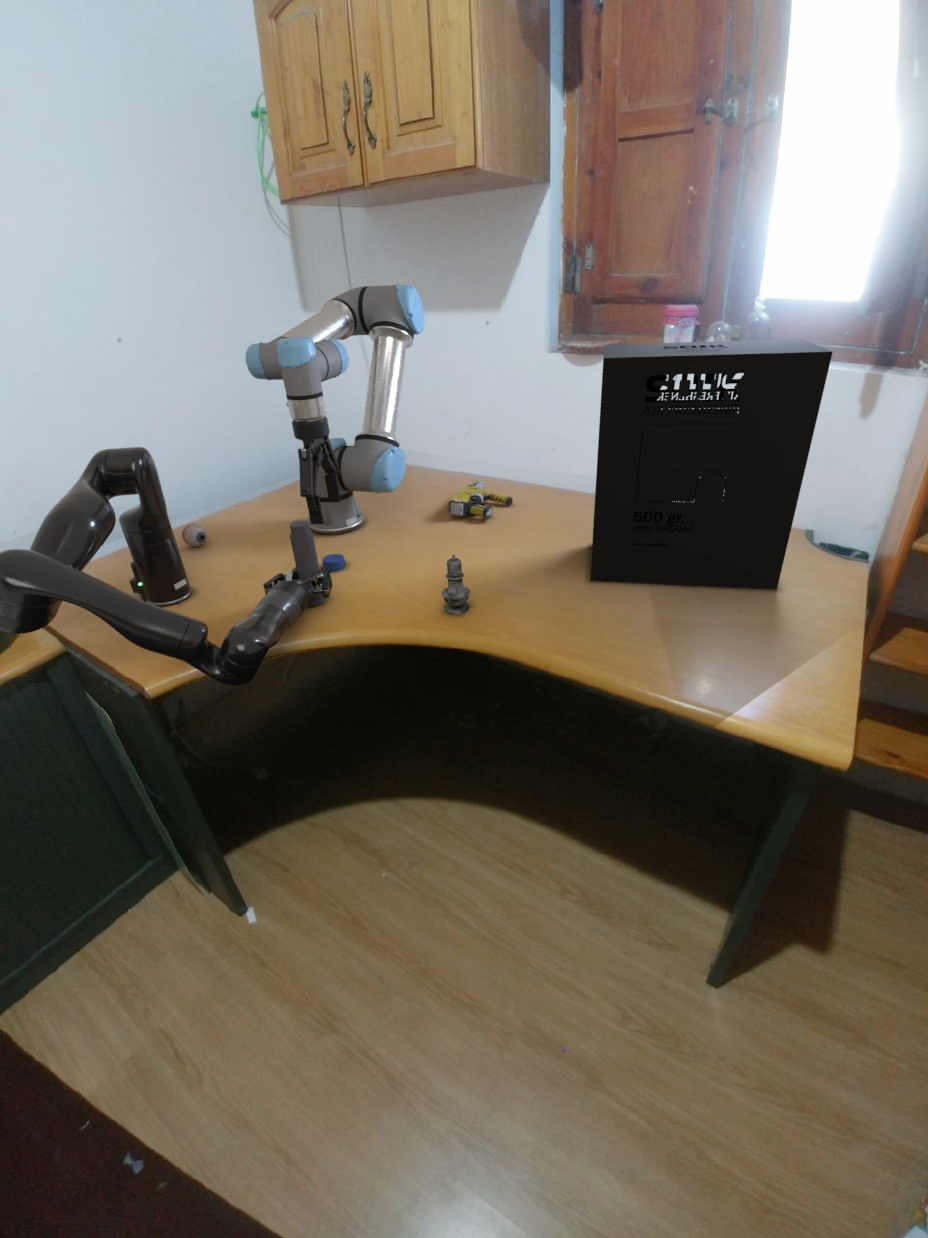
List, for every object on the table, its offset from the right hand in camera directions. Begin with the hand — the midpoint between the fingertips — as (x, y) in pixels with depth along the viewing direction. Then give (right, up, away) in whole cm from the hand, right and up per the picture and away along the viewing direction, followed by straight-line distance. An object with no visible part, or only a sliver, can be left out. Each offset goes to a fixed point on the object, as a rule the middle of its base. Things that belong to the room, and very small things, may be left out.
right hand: (326, 512), depth 139 cm
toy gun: (+38, +8, +37) cm, 54 cm away
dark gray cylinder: (-1, -21, -9) cm, 23 cm away
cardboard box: (+80, -13, -3) cm, 81 cm away
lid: (0, -10, +5) cm, 12 cm away
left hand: (0, -14, -10) cm, 17 cm away
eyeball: (-39, -5, +22) cm, 45 cm away
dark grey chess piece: (+30, -22, -15) cm, 40 cm away
